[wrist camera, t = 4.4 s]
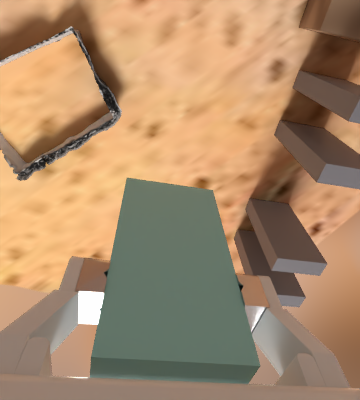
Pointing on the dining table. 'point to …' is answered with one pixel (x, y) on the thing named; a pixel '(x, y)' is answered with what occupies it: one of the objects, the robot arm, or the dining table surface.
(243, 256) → the domino
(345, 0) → the end block
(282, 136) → the domino
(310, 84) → the domino
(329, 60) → the dining table surface
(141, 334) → the teal domino
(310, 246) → the domino
